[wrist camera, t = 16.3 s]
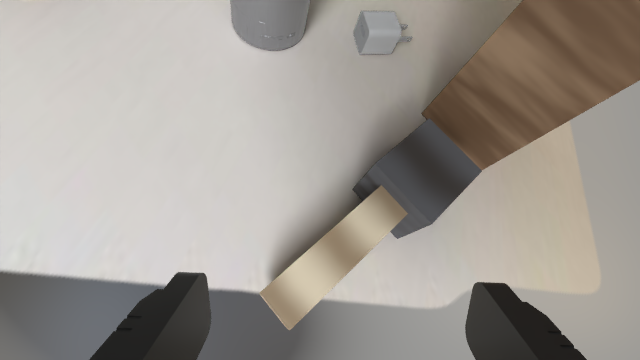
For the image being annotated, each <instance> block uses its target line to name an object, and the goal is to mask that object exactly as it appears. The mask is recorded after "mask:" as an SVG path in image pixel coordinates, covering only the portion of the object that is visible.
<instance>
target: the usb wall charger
mask: <svg viewBox="0 0 640 360" xmlns="http://www.w3.org/2000/svg"><path fill="white" fill-rule="evenodd" d="M404 26H406V27H405V28H403V27H404ZM407 26H408V25H400V24H399V22H398V19H397V16H396V14H395V12H394V11H361V13H360V15H359V18H358V21H357V23H356V26H355V29H354V39H355V42H356V45H357V48H358V52H359V54H360V55H364V54H391V53H392V51H393V50H394V48H395V46H396V44H397V42H407V41H411V39H412V37H401V30H405V29H406V28H407ZM408 38H410V39H409V40H407V39H408Z"/></svg>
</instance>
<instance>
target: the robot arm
mask: <svg viewBox="0 0 640 360" xmlns="http://www.w3.org/2000/svg"><path fill="white" fill-rule="evenodd" d="M230 4H231V16H232V23H233V27H234V29H235V31H236V33H237V34H238V35H239V36H240V37H241V38H242V39H243V40H244V41H246V42H247V43H249V44H250V45H252V46H254V47H257V48H260V49H264V50H283V49H287V48H289V47H292V46H294V45H295V44H296V43H298V42H299V41H300V39H301V38H302V36H303V34H304V31H305V25H306V20H307V15H308V10H309V5H310V0H230ZM210 324H211V310H210V301H209V292H208V283H207V277H206V275H205V274H204V273H187V272H178V273H177V274H176V275H175V276H174V277H173V278H172V279H171V281H170V282H169V283H168V284H167V286H166V287H165V288H164V289H162V290H161V289H157V290H155V291H154V292H153V293H151V294H150V295H148V296H147V297H145V298H144V299H142V300H141V301H140V302H139V303H138V304H137V305H136V306H135V307H134V309H133V310H132V311H131V312H130V313H129V314H128V315H127V319H124V320H123V321H122V322H121V324H120V325H119V326H118V327H117V330H116V331H114V332H113V333H112V334H111V335H110V336H109V338H108V339H107V340H106V341H105V342H104V343H103V345H102V346H101V347H100V348H99V349H98V350H97V351H96V353H95V354H94V355H93V356H92V357H91V358H90V360H196V359H197V357H198V355H199V353H200V351H201V349H202V347H203V345H204V342H205V341H206V338H207V336H208V333H209V330H210ZM465 328H466V338H467V342H468V345H469V347H470V350H471V351H472V353H473V355H474V357H475V359H476V360H587V359H586V358H585V357H584V356H583V355H582V354H581V353H580V352H579V351H578V350H577V349H574V345H573V344H572V343H571V342H570V341H569V340H568V339H567V338H566V337H565V336H564V335H562V334H561V331H560V330H559V329H558V328H557V327H556V326H555V325H554V323H553V322H552V321H551V320H550V319H549V318H548V317H547V316H546V315H544V314H543V313H542V312H540V311H539V310H537V309H536V308H534V307H533V306H532V305H530V304H529V303H527V302H522V301H521V300H520V299H519V298H518V297H517V295H516V294H515V293H514V292H513V291H512V290H511V289H510V287H509V286H508V285H506V284H505V283H485V282H477V283H475V284H474V286H473V290H472V295H471V300H470V305H469V310H468V315H467V320H466V327H465Z"/></svg>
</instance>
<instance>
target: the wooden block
mask: <svg viewBox="0 0 640 360" xmlns="http://www.w3.org/2000/svg"><path fill="white" fill-rule="evenodd" d="M639 80H640V0H523V1H522V2H521V3H520V4H519V5H518V6H517V8H516V9H515V10H514V11H513V12H512V13H511V14H510V15H509V16H508V18H507V19H506V20H505V21H504V22H503V23H502V24H501V25H500V27H499V28H498V29H497V30H496V31H495V32H494V33H493V34H492V35H491V37H490V38H489V39H488V40H487V41H486V42H485V43H484V44H483V46H482V47H481V48H480V49H479V50H478V51H477V52H476V53H475V54H474V56H473V57H472V58H471V59H470V60H469V61H468V62H467V63H466V65H465V66H464V67H463V68H462V69H461V70H460V71H459V72H458V73H457V75H456V76H455V77H454V78H453V79H452V80H451V81H450V82H449V84H448V85H447V86H446V87H445V88H444V89H443V90H442V91H441V92H440V94H439V95H438V96H437V97H436V98H435V99H434V100H433V101H432V102H431V104H430V105H429V106H428V107H427V108H426V109H425V110H424V111H423V113H422V115H423V116H424V117H425V118H426V119H427V120H428V119H429V118H430V119H431V120H432V121H433V122H434V123H435V124H436V125H437V126H438V127H439V128H440V129H441V130H442V131H443V132H444V133H445V134H446V135H447V136H448V137H449V138H450V139H451V140H452V141H453V142H454V143H455V144H456V145H457V146H458V147H459V148H460V149H461V150H462V151H463V152H464V153H465V154H466V155H467V156H468V157H469V158H470V159H471V160H472V161H473V162H474V163H475V164H476V165H477V166H478V167H479V168H480V169H481V170H483V169H485V168H487V167H488V166H490V165H492V164H494V163H496V162H497V161H499V160H501V159H503V158H504V157H506V156H508V155H510V154H511V153H513V152H515V151H517V150H518V149H520V148H522V147H524V146H525V145H527V144H529V143H531V142H532V141H534V140H536V139H538V138H539V137H541V136H543V135H545V134H546V133H548V132H550V131H552V130H553V129H555V128H557V127H559V126H560V125H562V124H564V123H566V122H567V121H569V120H571V119H573V118H574V117H576V116H578V115H580V114H581V113H583V112H585V111H587V110H588V109H590V108H592V107H593V106H595V105H597V104H599V103H601V102H602V101H604V100H606V99H608V98H609V97H611V96H613V95H615V94H616V93H618V92H620V91H621V90H623V89H625V88H627V87H629V86H630V85H632V84H634V83H636V82H637V81H639Z"/></svg>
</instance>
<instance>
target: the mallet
mask: <svg viewBox="0 0 640 360" xmlns="http://www.w3.org/2000/svg"><path fill="white" fill-rule="evenodd" d="M481 172H482V170H481V169H480V168H479V167H478V166H477V165H476V164H475V163H474V162H473V161H472V160H471V159H470V158H469V157H468V156H467V155H466V154H465V153H464V152H463V151H462V150H461V149H460V148H459V147H458V146H457V145H456V144H455V143H454V142H453V141H452V140H451V139H450V138H449V137H448V136H447V135H446V134H445V133H444V132H443V131H442V130H441V129H440V128H439V127H438V126H437V125H436V124H435V123H434V122H433V121H432V120H431V119H430V118H429V119H428V120H427V121H426V122H424V123H423V124H422V125H421V126H420V127H418V128H417V129H416V130H415V131H414V132H412V133H411V134H410V135H409V136H408V137H406V138H405V139H404V140H403V141H402V142H400V143H399V144H398V145H397V146H396V147H394V148H393V149H392V150H391V151H390V152H388V153H387V154H386V155H385V156H384V157H382V158H381V159H380V160H379V161H378V162H376V163H375V164H374V165H373V167H372V168H371V169H370V170H369V171H368V172H367V173H366V175H365V176H364V177H363V178H362V179H361V180H360V181H359V183H358V184H357V185H356V186H355V187H354V188H353V189H352V190H353V191H354V192H355V193H356V194H357V195H358V196H359V197H360V198H361V199H362V201H363V202H362V203H361V204H359V205H358V206H357V207H356V208H355V209H354V210H353V211H352V212H350V213H349V214H348V215H347V216H346V217H345V218H344V219H343V220H341V221H340V222H339V223H338V224H337V225H336V226H335V227H333V228H332V229H331V230H330V231H329V232H328V233H327V234H326V235H324V236H323V237H322V238H321V239H320V240H319V241H318V242H317V243H315V244H314V245H313V246H312V247H311V248H310V249H309V250H307V251H306V252H305V253H304V254H303V255H302V256H301V257H300V258H298V259H297V260H296V261H295V262H294V263H293V264H292V265H291V266H289V267H288V268H287V269H286V270H285V271H284V272H283V273H282V274H280V275H279V276H278V277H277V278H276V279H275V280H274V281H272V282H271V283H270V284H269V285H268V286H267V287H266V288H265V289H263V290H262V291H261V292H260V293H259V294H260V295H261V296H262V297H263V299H264V300H265V302H266V303H267V304H268V305H269V307H270V308H271V309H272V310H273V312H274V313H275V314H276V315H277V317H278V318H279V319H280V320H281V322H282V323H283V324H284V326H285V327H286V328H287V329H289V330H291V329H292V328H293V327H294V326H295V325H296V324H297V323H298V322H299V321H300V320H301V319H302V318H303V317H304V316H305V315H306V314H307V313H308V312H309V311H310V310H311V309H312V308H313V307H314V306H315V305H316V304H317V303H318V302H319V301H320V300H321V299H322V298H323V297H324V296H325V295H326V294H327V293H328V292H329V291H330V290H331V289H332V288H333V287H334V286H335V285H336V284H337V283H338V282H339V281H340V280H341V279H342V278H343V277H344V276H345V275H346V274H347V273H348V272H349V271H350V270H351V269H352V268H353V267H354V266H355V265H356V264H358V263H359V262H360V261H361V260H362V259H363V258H364V257H365V256H366V255H367V254H368V253H369V252H370V251H371V250H372V249H373V248H374V247H375V246H376V245H377V244H378V243H379V242H380V241H381V240H382V239H383V238H384V237H385V236H386V235H387V234H388V233H389V232H391V233H392V234H393V235H394V236H395V237H396V238H397V239H398V238H400V237H403V236H405V235H407V234H410V233H412V232H414V231H417V230H419V229H421V228H424V227H426V226H428V225H431V224H432V223H433V222H434V221H435V220H436V219H437V218H438V217H439V216H440V215H441V214H442V213H443V212H444V211H445V210H446V209H447V207H448V206H449V205H450V204H451V203H452V202H453V201H454V200H455V199H456V198H457V197H458V196H459V195H460V194H461V193H462V192H463V191H464V189H465V188H466V187H467V186H468V185H469V184H470V183H471V182H472V181H473V180H474V179H475V178H476V177H477V176H478V175H479V174H480V173H481Z"/></svg>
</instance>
